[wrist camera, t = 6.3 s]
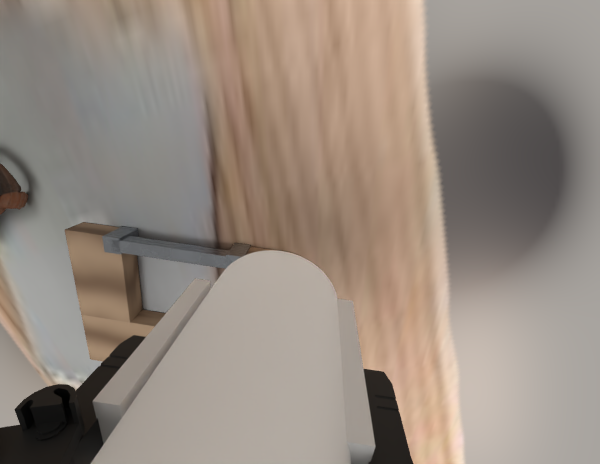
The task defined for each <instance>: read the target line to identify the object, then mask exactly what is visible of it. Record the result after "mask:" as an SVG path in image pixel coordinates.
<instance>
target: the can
mask: <svg viewBox="0 0 600 464" xmlns="http://www.w3.org/2000/svg"><path fill="white" fill-rule="evenodd" d="M337 299H338V298H337V294H336V291H335V289H334V286H333V284H332V283H331V281H330V280H329V278H328V277H327V276H326V274H325V273H324V272H323V271H322V270H321V269H320V268H319V267H317V266H316V265H315V264H313V263H312V262H310V261H309V260H307V259H305V258H303V257H301V256H299V255H296V254H293V253H289V252H285V251H277V250H266V251H258V252H254V253H250V254H248V255H245V256H243V257H241V258H239V259H237V260H236V261H234V262H233V263H231V264H230V265H229V266H228V267H227V268H226V269H225V270H224V272H223V273H222V274H221V276H220V277H219V278H218V280H217V281H216V282H215V284H214V285H213V287H212V288H211V290H210V291H209V292H208V294H207V295H206V297H205V298H204V300H203V301H202V302H201V304H200V305H199V307H198V308H197V310H196V311H195V313H194V314H193V315H192V317H191V318H190V320H189V321H188V323H187V324H186V326H185V327H184V328H183V330H182V331H181V333H180V334H179V336H178V337H177V339H176V340H175V341H174V343H173V344H172V346H171V347H170V349H169V350H168V352H167V353H166V355H165V356H164V357H163V359H162V360H161V362H160V363H159V365H158V366H157V368H156V369H155V370H154V372H153V373H152V375H151V376H150V378H149V379H148V381H147V382H146V384H145V385H144V386H143V388H142V389H141V391H140V392H139V394H138V395H137V397H136V398H135V400H134V401H133V402H132V404H131V405H130V407H129V408H128V410H127V411H126V413H125V414H124V416H123V417H122V419H121V420H120V421H119V423H118V424H117V426H116V427H115V429H114V430H113V432H112V433H111V435H110V436H109V437H108V439H107V440H106V442H105V443H104V445H103V446H102V448H101V449H100V451H99V452H98V454H97V455H96V456H95V458H94V459H93V461H92V462H91V464H351V456H350V450H349V447H348V444H347V437H346V421H345V406H344V391H343V376H342V361H341V346H340V332H339V318H338V305H337Z"/></svg>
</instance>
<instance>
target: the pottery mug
mask: <svg viewBox="0 0 600 464" xmlns="http://www.w3.org/2000/svg"><path fill="white" fill-rule="evenodd" d="M27 199H28V194H26V193H25V192H21V187H20V185H19V184H18V183H17V181H16V180H15V179H14V177H13V176H12V175H11V174H10V173H9V171H8V170H7V169H6V168H5V167H4V166H3V165H2V164H0V215H1V214H2V213H3V212H4V211H5V210H6V209H13V208H15V209H16V208H17V209H21V208H22V207H24V206H25V204H26V202H27Z"/></svg>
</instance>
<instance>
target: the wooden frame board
mask: <svg viewBox="0 0 600 464" xmlns="http://www.w3.org/2000/svg"><path fill="white" fill-rule="evenodd" d="M118 228H120V227H113V226H106V225H99V224H93V223H86V222H83V223H80V224H78V225H75V226H73V227H70V228H68V229H65V234H66V239H67V244H68V249H69V254H70V259H71V264H72V269H73V275H74V280H75V285H76V290H77V295H78V300H79V305H80V310H81V315H82V320H83V325H84V330H85V335H86V340H87V345H88V350H89V355H90V359H92V360H98V361H104V360H105V359H106V358H107V357H109V355H110V354H111V353H112V352H113V350H114V349H115V348H116V347H117V346H118V345H119V344H120V343H122V342H123V341H125V340H127V339H128V338H130V337H131V336H133V335H137V336H144V337H147V335H148V334H149V333H150V332H151V331H152V329H153V328H154V327H155V326H156V325H157V323H158V322H159V321H160V320H161V319H162V317H163V316H164V315H165V314H166V313H161V312H154V311H148V310H143V309H142V299H141V289H140V279H139V269H138V259H137V255H132V254H125V253H123V254H114V253H107V252H104V246H103V239H102V236H104V235H106V234H108V233H110V232H112V231H114V230H116V229H118ZM266 250H271V249H264V248H257V247H250V249H249V250H248V252H247V254H246V255H248V254H250V253H254V252H258V251H266ZM277 251H278V250H277ZM289 253H291V252H289Z"/></svg>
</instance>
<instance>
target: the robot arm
mask: <svg viewBox="0 0 600 464" xmlns="http://www.w3.org/2000/svg"><path fill="white" fill-rule="evenodd" d="M209 291H210V280H203V279H196V278H195V279H194V280H193V282H192V283H191V284H190V285H189V286H188V288H187V289H186V290H185V291H184V292H183V294H182V295H181V296H180V297H179V298H178V300H177V301H176V302H175V303H174V304H173V306H172V307H171V308H170V309H169V310H168V312H167V313H166V314H165V315H164V316H163V317H162V319H161V320H160V321H159V322H158V323H157V325H156V326H155V327H154V328H153V329H152V331H151V332H150V333H149V334H148V335H147V337H144V336H137V335H133V336H131V337H130V338H128V339H127V340H125V341H123V342H122V343H120V344H119V345H118V346H117V347H116V348H115V349H114V350H113V352H112V353H111V354H110V355H109V357H107V358H106V359H105V360H104V361H103V362H102V363H101V366H99V367H98V368H97V369H96V370H95V371H94V372H93V373H92V374H91V375H90V376H89V377H88V378H87V379H86V381H85V382H84V383H83V384H82V385H81V386H80V387H79V388H78V389H77V390H76V391H75V389H74V388H73V387H71V386H69V385H62V384H58V385H53V386H49V387H46V388H43V389H41V390H39V391H37V392H34V393H33V394H32V395H30V396H29V397H27V398H26V399H24V400H23V401H22V402H21V403H20V404H19V405H18V406H17V408H16V409H15V412H16V414H17V417H18V420H19V423H20V425H16V426H10V427H3V428H0V464H91V462H92V461H93V459H94V458H95V456H96V455H97V454H98V452H99V451H100V449H101V448H102V446H103V445H104V443H105V442H106V440H107V439H108V437H109V436H110V435H111V433H112V432H113V430H114V429H115V427H116V426H117V424H118V423H119V421H120V420H121V419H122V417H123V416H124V414H125V413H126V411H127V410H128V408H129V407H130V405H131V404H132V402H133V401H134V400H135V398H136V397H137V395H138V394H139V392H140V391H141V389H142V388H143V386H144V385H145V384H146V382H147V381H148V379H149V378H150V376H151V375H152V373H153V372H154V370H155V369H156V368H157V366H158V365H159V363H160V362H161V360H162V359H163V357H164V356H165V355H166V353H167V352H168V350H169V349H170V347H171V346H172V344H173V343H174V341H175V340H176V339H177V337H178V336H179V334H180V333H181V331H182V330H183V328H184V327H185V326H186V324H187V323H188V321H189V320H190V318H191V317H192V315H193V314H194V313H195V311H196V310H197V308H198V307H199V305H200V304H201V302H202V301H203V300H204V298H205V297H206V295H207V294H208V292H209ZM337 305H338V318H339V332H340V346H341V361H342V376H343V391H344V406H345V421H346V437H347V444H348V447H349V450H350V456H351V464H413V461H412V459H411V456H410V452H409V448H408V444H407V440H406V436H405V432H404V429H403V425H402V421H401V417H400V413H399V411H398V410H399V409H398V405H397V401H396V397H395V393H394V390H393V386H392V383H391V382H390V380H389V379H388V377H387V376H386V374H385V373H384V372H381V371H375V370H368V369H363V363H362V357H361V350H360V344H359V337H358V331H357V325H356V318H355V312H354V305H353V301H350V300H343V299H337Z"/></svg>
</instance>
